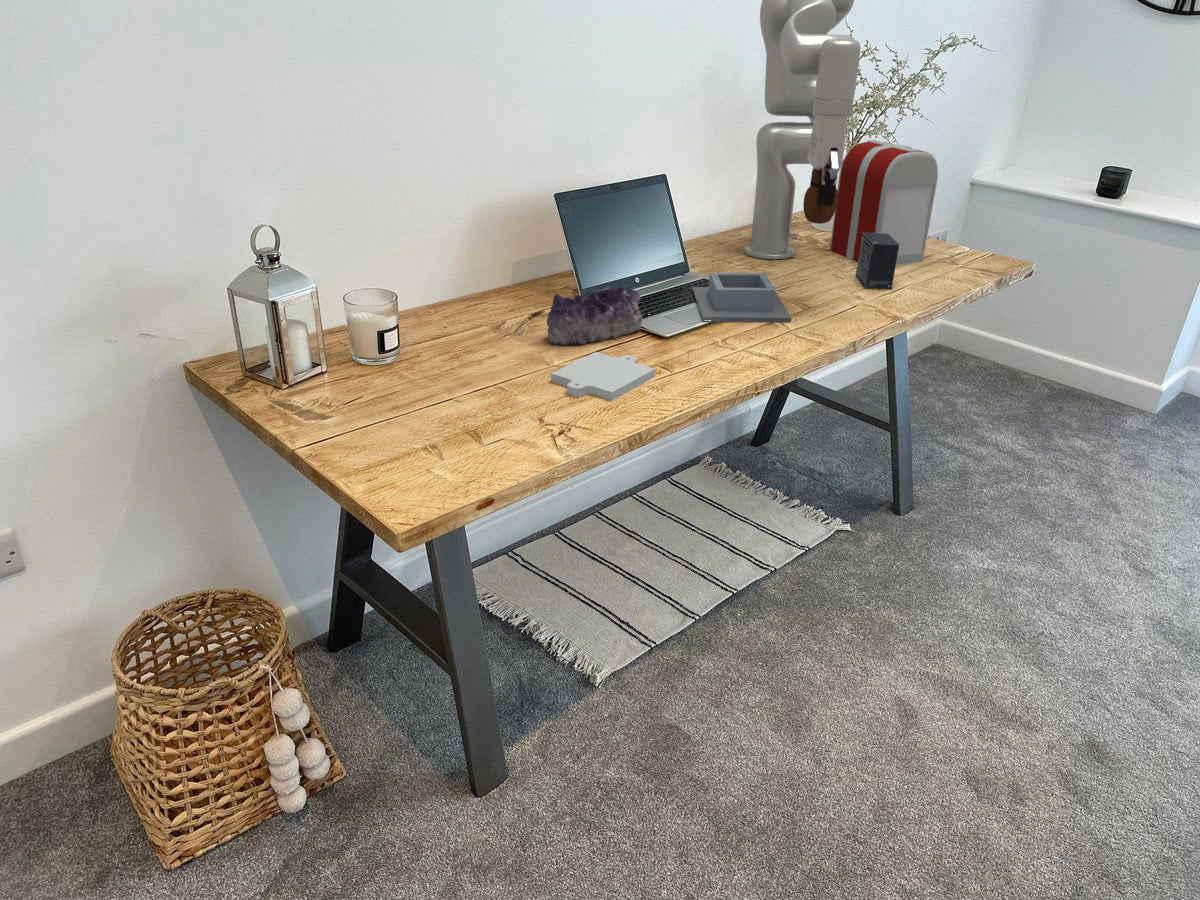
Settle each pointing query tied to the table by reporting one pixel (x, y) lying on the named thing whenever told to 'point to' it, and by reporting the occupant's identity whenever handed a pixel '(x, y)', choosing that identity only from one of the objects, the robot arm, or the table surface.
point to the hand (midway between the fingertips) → (820, 199)
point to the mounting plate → (603, 376)
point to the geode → (593, 317)
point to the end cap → (740, 299)
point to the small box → (877, 260)
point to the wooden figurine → (810, 205)
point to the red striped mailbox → (884, 198)
